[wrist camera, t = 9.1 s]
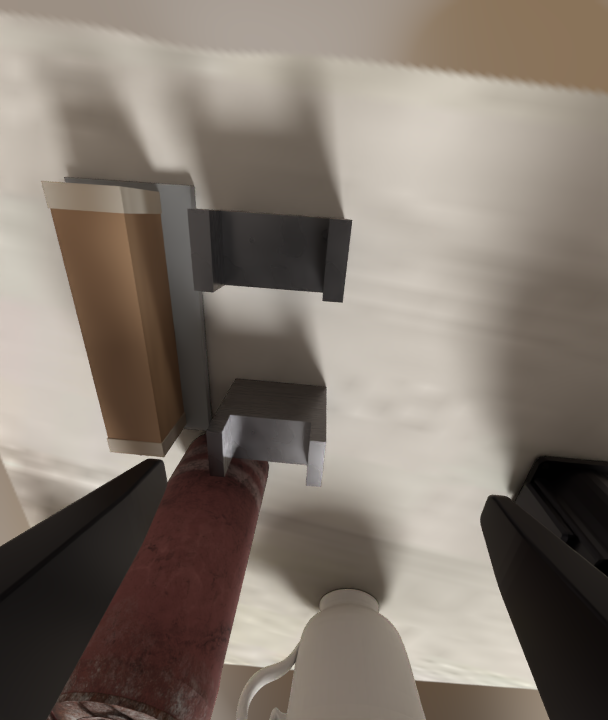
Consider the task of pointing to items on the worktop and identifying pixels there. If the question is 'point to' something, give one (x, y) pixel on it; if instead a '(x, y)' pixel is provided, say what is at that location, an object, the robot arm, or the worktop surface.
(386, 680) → the teacup
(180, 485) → the can
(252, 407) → the post
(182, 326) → the mat
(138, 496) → the robot arm
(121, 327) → the rail
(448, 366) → the worktop surface
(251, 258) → the post
